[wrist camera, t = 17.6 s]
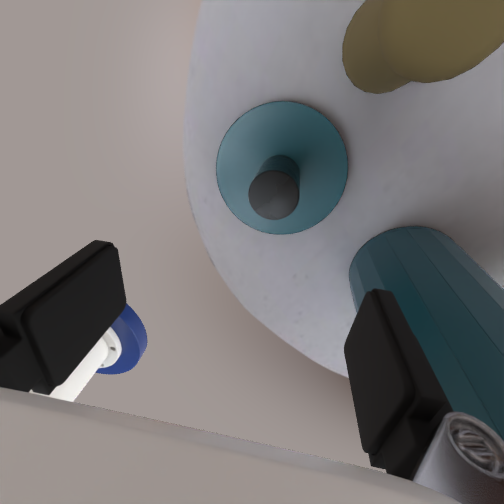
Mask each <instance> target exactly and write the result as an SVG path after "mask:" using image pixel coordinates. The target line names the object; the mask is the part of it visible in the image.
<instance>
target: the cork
mask: <svg viewBox="0 0 504 504" xmlns="http://www.w3.org/2000/svg"><path fill="white" fill-rule="evenodd" d="M503 42H504V0H366V1H365V2H364V3H363V5H362V6H361V7H360V8H359V9H358V10H357V11H356V12H355V14H354V16H353V18H352V20H351V22H350V24H349V25H348V27H347V30H346V34H345V38H344V41H343V45H342V61H343V65H344V68H345V71H346V75H347V76H348V78H349V79H350V80H351V82H352V83H353V84H354V85H355V86H356V87H358V88H359V89H361V90H363V91H364V92H369V93H374V94H380V93H386V92H391V91H393V90H395V89H397V88H399V87H401V86H403V85H405V84H407V83H408V82H410V81H415V82H421V83H431V82H437V81H442V80H448V79H451V78H454V77H456V76H458V75H460V74H462V73H464V72H466V71H468V70H470V69H472V68H473V67H475V66H476V65H478V64H479V63H480V62H482V61H483V60H484V59H485V58H486V57H488V56H489V55H490V54H491V53H493V52H494V51H495V50H496V49H498V48H499V47H500V45H501V44H502V43H503Z"/></svg>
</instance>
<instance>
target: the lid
mask: <svg viewBox="0 0 504 504" xmlns="http://www.w3.org/2000/svg"><path fill="white" fill-rule="evenodd" d="M347 174H348V159H347V154H346V149H345V146H344V143H343V140H342V139H341V137H340V135H339V133H338V131H337V130H336V128H335V127H334V126H333V124H332V123H331V122H330V121H329V120H328V119H327V118H326V117H325V116H323V115H322V114H321V113H320V112H318V111H316V110H315V109H313V108H311V107H309V106H306V105H304V104H301V103H296V102H290V101H277V102H270V103H266V104H262V105H260V106H258V107H255V108H253V109H251V110H250V111H248V112H246V113H245V114H243V115H242V116H241V117H240V118H238V119H237V120H236V121H235V123H234V124H233V125H232V126H231V127H230V129H229V130H228V131H227V133H226V134H225V136H224V138H223V140H222V142H221V145H220V148H219V151H218V156H217V162H216V176H217V183H218V186H219V190H220V193H221V195H222V197H223V199H224V201H225V203H226V205H227V206H228V207H229V209H230V210H231V211H232V213H233V214H234V215H235V216H236V217H237V218H238V219H240V220H241V221H242V222H243V223H245V224H247V225H248V226H250V227H252V228H254V229H256V230H259V231H261V232H265V233H269V234H293V233H297V232H301V231H303V230H306V229H309V228H310V227H312V226H314V225H316V224H317V223H319V222H320V221H322V220H323V219H324V218H325V217H326V216H327V215H328V214H329V213H330V212H331V211H332V210H333V209H334V207H335V206H336V204H337V203H338V201H339V199H340V198H341V196H342V193H343V191H344V188H345V185H346V180H347Z"/></svg>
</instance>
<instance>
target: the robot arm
mask: <svg viewBox="0 0 504 504" xmlns="http://www.w3.org/2000/svg"><path fill="white" fill-rule="evenodd" d="M125 307H126V296H125V290H124V284H123V278H122V272H121V267H120V260H119V254H118V249H117V248H115V247H114V245H113V243H111V242H105V241H99V240H95V241H93V242H91V243H90V244H88V245H87V246H85V247H84V248H82V249H81V250H80V251H78V252H77V253H75V254H74V255H72V256H71V257H69V258H68V259H66V260H65V261H64V262H62V263H61V264H59V265H58V266H56V267H55V268H54V269H52V270H51V271H49V272H48V273H46V274H45V275H43V276H42V277H40V278H39V279H37V280H36V281H35V282H33V283H32V284H30V285H29V286H27V287H26V288H24V289H23V290H22V291H20V292H19V293H17V294H16V295H15V296H13V297H12V298H10V299H9V300H7V301H6V302H4V303H3V304H1V305H0V504H504V441H503V440H502V439H501V437H500V436H499V435H498V434H497V433H496V432H495V431H494V430H492V429H491V428H490V427H489V426H488V425H486V424H485V423H484V422H482V421H480V420H479V419H477V418H475V417H474V416H471V415H469V414H466V413H463V412H455V411H453V409H452V407H451V405H450V403H449V401H448V399H447V397H446V395H445V393H444V391H443V389H442V387H441V385H440V383H439V381H438V379H437V377H436V375H435V373H434V371H433V369H432V367H431V365H430V363H429V361H428V359H427V357H426V355H425V353H424V351H423V349H422V347H421V345H420V343H419V341H418V339H417V338H416V336H415V335H414V334H413V332H412V330H411V328H410V326H409V324H408V322H407V320H406V318H405V316H404V314H403V312H402V310H401V308H400V306H399V304H398V302H397V300H396V298H395V296H394V294H393V293H392V291H388V290H383V289H377V288H374V289H372V291H371V292H370V291H367V292H366V294H365V296H364V298H363V301H362V303H361V305H360V308H359V310H358V313H357V315H356V318H355V320H354V322H353V325H352V327H351V330H350V332H349V334H348V337H347V339H346V342H345V345H344V354H345V359H346V364H347V370H348V375H349V380H350V385H351V391H352V395H353V401H354V407H355V412H356V417H357V423H358V428H359V433H360V438H361V443H362V448H363V450H364V452H366V453H368V454H369V458H370V463H371V466H373V467H377V468H382V469H386V472H387V473H383V472H380V471H377V470H373V469H369V468H364V467H360V466H356V465H352V464H348V463H344V462H340V461H336V460H331V459H328V458H323V457H319V456H315V455H311V454H306V453H302V452H297V451H293V450H289V449H284V448H280V447H275V446H271V445H267V444H262V443H258V442H253V441H249V440H244V439H240V438H235V437H230V436H227V435H222V434H218V433H213V432H208V431H204V430H199V429H195V428H190V427H186V426H181V425H177V424H172V423H168V422H163V421H158V420H154V419H149V418H145V417H140V416H136V415H131V414H126V413H122V412H117V411H113V410H108V409H103V408H99V407H94V406H89V405H85V404H80V403H75V402H73V401H74V400H75V399H76V397H77V396H78V395H79V393H80V392H81V391H82V389H83V388H84V387H85V385H86V384H87V383H88V381H89V380H90V379H91V377H92V376H93V375H94V373H95V372H96V371H97V369H98V368H105V367H109V366H111V365H113V364H114V363H115V362H116V361H117V359H118V358H119V357H120V355H121V351H122V347H121V343H120V340H119V338H118V336H117V334H116V333H115V331H114V330H113V329H112V328H111V327H110V326H111V325H112V324H113V323H114V321H115V320H116V319H117V318H118V317H119V315H120V314H121V313H122V312H123V310H124V309H125Z"/></svg>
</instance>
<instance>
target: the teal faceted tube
mask: <svg viewBox="0 0 504 504" xmlns="http://www.w3.org/2000/svg"><path fill="white" fill-rule="evenodd" d="M349 281H350V288H351V292H352V296H353V300H354V304H355V308H356V312H357V313H358V310H359V308H360V305H361V303H362V301H363V298H364V296H365V294H366V292H367V291H370V292H371V291H372V289H374V288H377V289H383V290H388V291H392V293H393V294H394V296H395V298H396V300H397V302H398V304H399V306H400V308H401V310H402V312H403V314H404V316H405V318H406V320H407V322H408V324H409V326H410V328H411V330H412V332H413V334H414V335H415V336H416V338H417V339H418V341H419V343H420V345H421V347H422V349H423V351H424V353H425V355H426V357H427V359H428V361H429V363H430V365H431V367H432V369H433V371H434V373H435V375H436V377H437V379H438V381H439V383H440V385H441V387H442V389H443V391H444V393H445V395H446V397H447V399H448V401H449V403H450V405H451V407H452V409H453V411H455V412H463V413H466V414H469V415H471V416H474V417H475V418H477V419H479V420H480V421H482V422H484V423H485V424H486V425H488V426H489V427H490V428H491V429H492V430H494V431H495V432H496V433H497V434H498V435H499V436H500V437H501V439H502V440H503V441H504V289H503V288H502V287H501V286H500V285H499V284H498V283H497V282H496V281H495V280H493V279H492V278H491V277H490V276H489V275H488V274H487V273H486V272H485V271H484V270H483V269H482V268H481V267H480V266H479V265H478V264H477V263H476V262H475V261H474V260H473V259H472V258H471V257H470V256H469V255H468V254H467V253H466V252H465V251H464V250H463V249H462V248H461V247H459V246H458V245H457V244H456V243H455V242H454V241H453V240H452V239H451V238H449V237H448V236H447V235H445V234H443V233H441V232H440V231H437V230H434V229H431V228H426V227H418V226H411V227H401V228H397V229H392V230H389V231H386V232H384V233H382V234H380V235H378V236H376V237H374V238H373V239H371V240H370V241H368V242H367V243H366V244H365V245H364V246H363V247H362V248H361V249H360V250H359V251H358V252H357V254H356V255H355V257H354V258H353V261H352V263H351V266H350V270H349Z"/></svg>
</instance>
